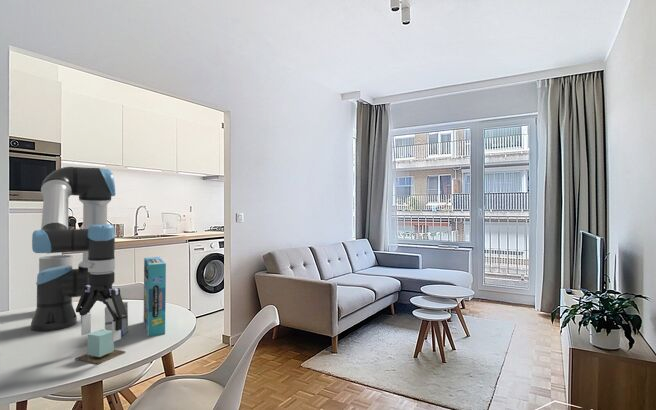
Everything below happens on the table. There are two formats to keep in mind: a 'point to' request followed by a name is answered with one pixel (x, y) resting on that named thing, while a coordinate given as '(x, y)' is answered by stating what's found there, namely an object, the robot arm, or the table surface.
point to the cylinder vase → (55, 261)
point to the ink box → (109, 319)
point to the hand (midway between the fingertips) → (100, 337)
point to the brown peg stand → (99, 359)
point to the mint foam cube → (100, 343)
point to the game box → (154, 295)
